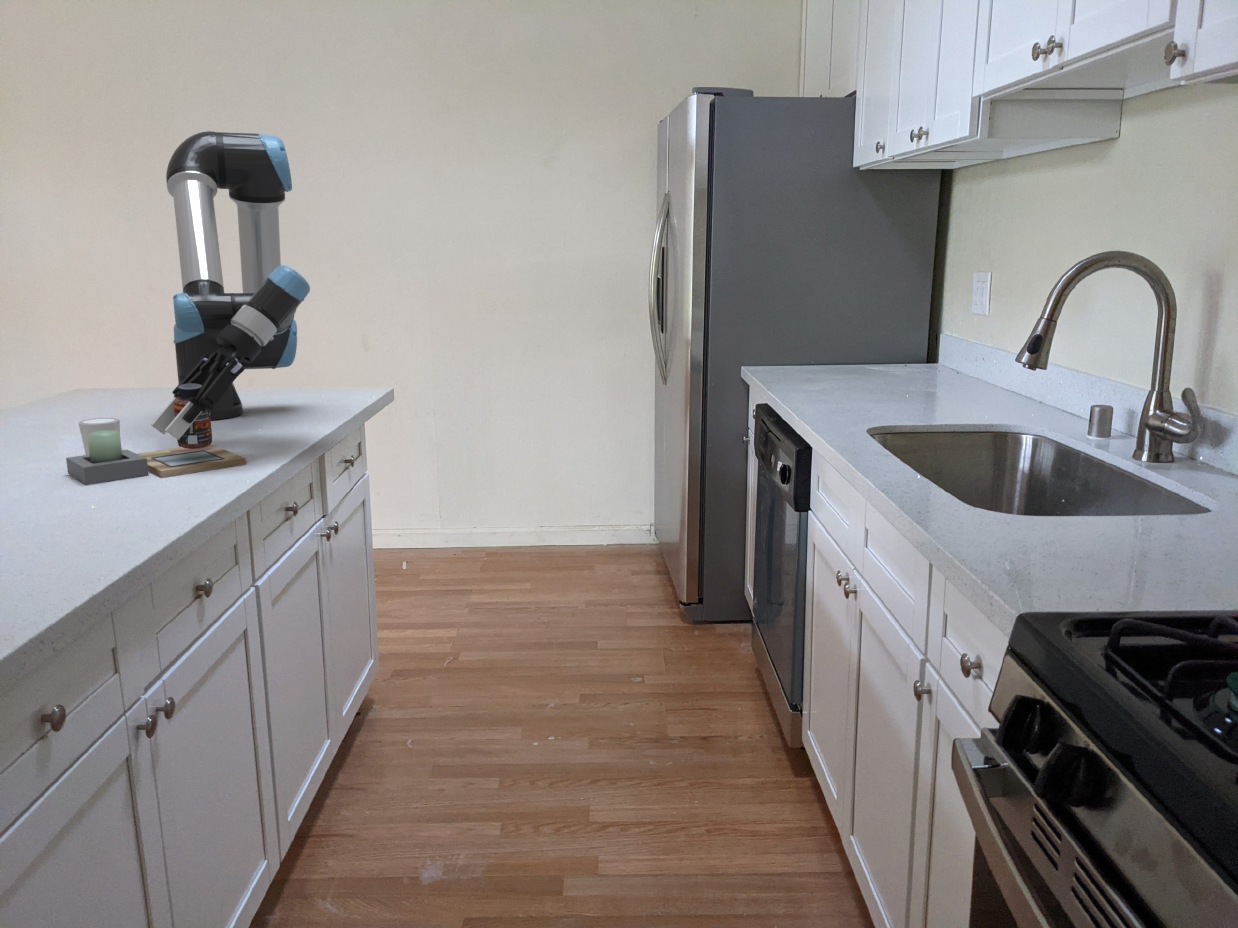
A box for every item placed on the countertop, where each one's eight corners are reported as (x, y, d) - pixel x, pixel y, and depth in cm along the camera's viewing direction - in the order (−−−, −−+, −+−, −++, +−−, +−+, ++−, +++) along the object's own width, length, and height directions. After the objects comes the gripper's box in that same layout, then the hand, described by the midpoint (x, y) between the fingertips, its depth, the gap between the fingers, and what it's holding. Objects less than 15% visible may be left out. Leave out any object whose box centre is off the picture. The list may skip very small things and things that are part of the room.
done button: (86, 460, 162) (83, 432, 161) (117, 456, 166) (114, 429, 164) (95, 465, 159) (92, 437, 157) (126, 461, 162) (123, 433, 161)
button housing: (68, 474, 163) (66, 457, 162) (128, 465, 170) (127, 449, 169) (86, 484, 156) (83, 467, 155) (148, 475, 163) (146, 458, 162)
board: (128, 461, 173) (127, 454, 172) (209, 449, 183) (208, 443, 183) (161, 477, 161) (161, 470, 161) (246, 464, 171) (245, 457, 171)
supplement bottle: (201, 451, 168) (195, 391, 164) (171, 448, 169) (164, 388, 165) (219, 441, 174) (214, 383, 170) (190, 438, 174) (184, 380, 171)
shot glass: (82, 462, 172) (77, 425, 170) (83, 454, 178) (79, 418, 176) (123, 458, 175) (119, 422, 173) (123, 451, 181) (119, 416, 179)
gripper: (283, 353, 170) (202, 452, 162) (239, 344, 183) (161, 436, 175) (253, 325, 165) (167, 427, 157) (209, 319, 178) (128, 412, 170)
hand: (164, 432), depth 166 cm, fingers closed on supplement bottle, 6 cm apart
